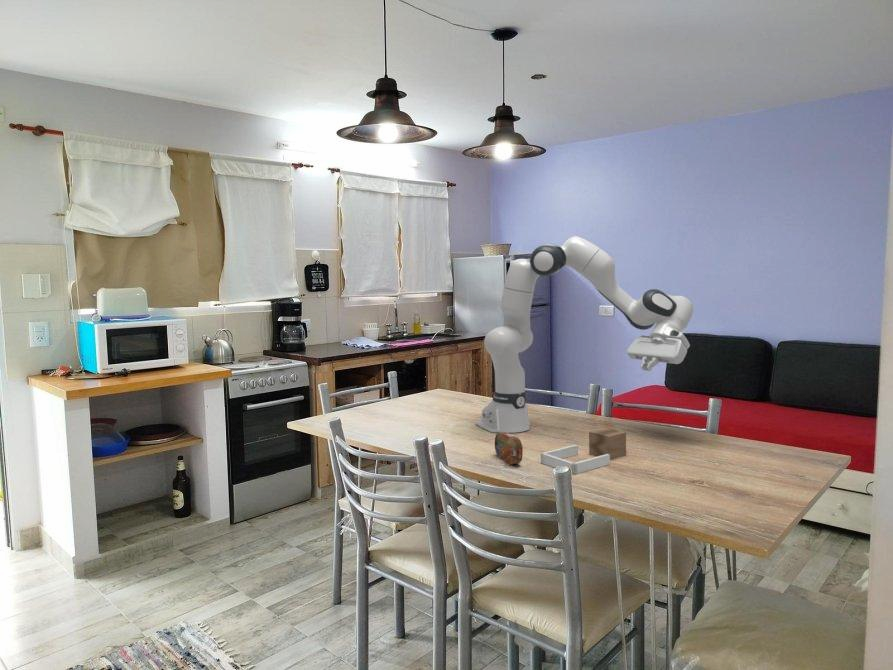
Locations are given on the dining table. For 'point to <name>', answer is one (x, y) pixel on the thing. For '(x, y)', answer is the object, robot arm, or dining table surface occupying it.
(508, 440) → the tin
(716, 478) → the dining table surface
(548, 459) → the white u-shaped frame
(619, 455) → the walnut block
